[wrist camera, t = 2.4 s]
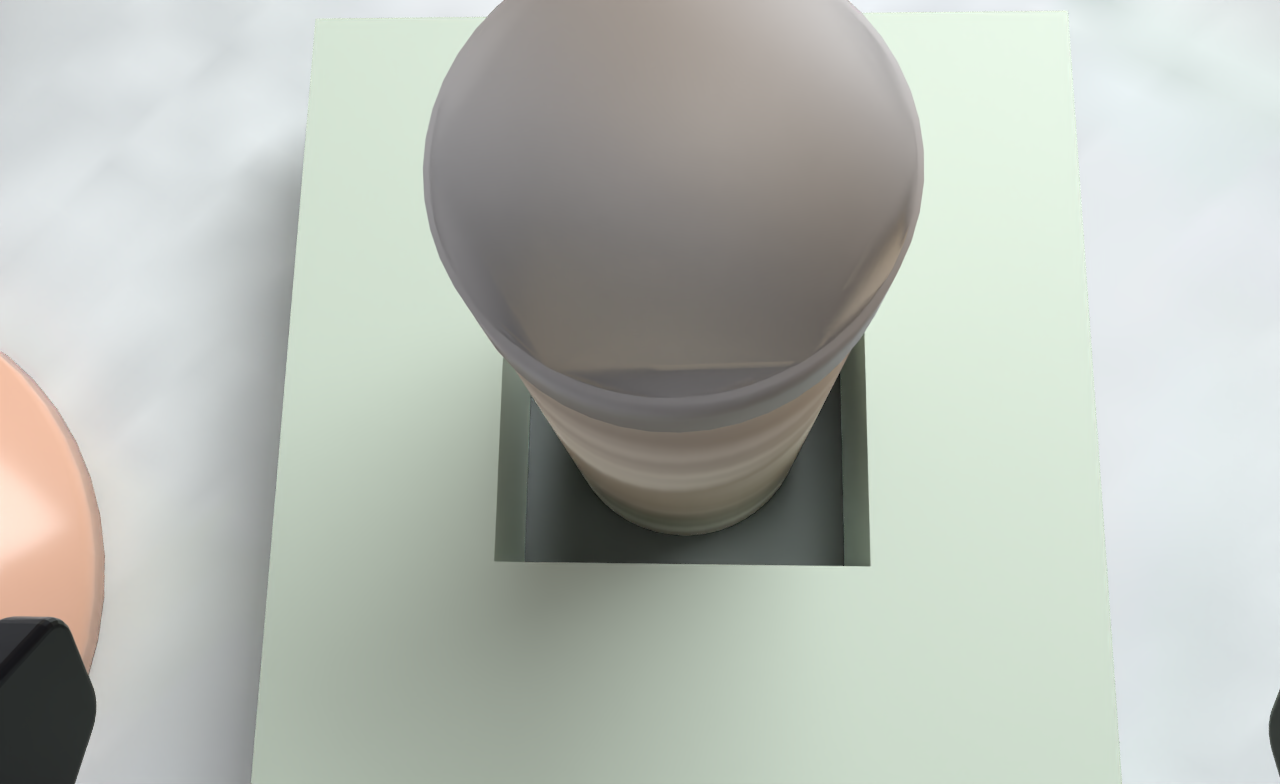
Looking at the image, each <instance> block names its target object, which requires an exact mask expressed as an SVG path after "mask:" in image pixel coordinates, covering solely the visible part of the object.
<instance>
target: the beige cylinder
mask: <svg viewBox="0 0 1280 784" xmlns="http://www.w3.org/2000/svg"><path fill="white" fill-rule="evenodd" d="M423 185H424V201H425V206H426V211H427V217H428V222H429V227H430V231H431V234H432V237H433V240H434V243H435V246H436V249H437V252H438V255H439V258H440V260H441V262H442V264H443V266H444V268H445V270H446V272H447V274H448V276H449V278H450V280H451V282H452V284H453V286H454V287H455V289H456V290H457V292H458V293H459V295H460V296H461V298H462V299H463V301H464V302H465V304H466V305H467V307H468V308H469V310H470V311H471V313H472V314H473V316H474V317H475V319H476V320H477V322H478V323H479V325H480V326H481V328H482V329H483V331H484V332H485V334H486V335H487V337H488V338H489V340H490V341H491V342H492V344H493V345H494V347H495V348H496V350H497V351H498V352H499V353H500V354H501V355H502V356H503V357H504V358H505V360H506V361H507V362H508V363H509V364H510V365H511V366H512V367H513V368H514V369H515V371H516V372H517V374H518V375H519V377H520V378H521V380H522V382H523V383H524V385H525V386H526V388H527V389H528V391H529V392H530V394H531V396H532V397H533V399H534V400H535V402H536V403H537V405H538V406H539V408H540V410H541V411H542V413H543V414H544V416H545V417H546V419H547V420H548V422H549V424H550V425H551V427H552V428H553V430H554V431H555V433H556V434H557V436H558V438H559V439H560V441H561V442H562V444H563V445H564V447H565V448H566V450H567V452H568V453H569V455H570V456H571V458H572V459H573V461H574V462H575V464H576V466H577V467H578V469H579V470H580V472H581V473H582V475H583V476H584V478H585V480H586V481H587V482H588V484H589V485H590V487H591V488H592V490H593V491H594V492H595V494H596V495H597V496H598V497H599V498H600V499H601V500H602V501H603V502H604V503H605V504H606V505H607V506H608V507H609V508H610V509H612V510H613V511H614V512H615V513H617V514H618V515H620V516H621V517H623V518H624V519H626V520H628V521H629V522H631V523H634V524H636V525H638V526H640V527H642V528H645V529H648V530H651V531H655V532H658V533H664V534H670V535H684V536H690V535H701V534H707V533H711V532H716V531H719V530H722V529H725V528H727V527H730V526H733V525H735V524H737V523H739V522H740V521H742V520H744V519H746V518H748V517H749V516H750V515H752V514H753V513H755V512H756V511H757V510H759V509H760V508H761V507H762V506H763V505H764V504H765V503H766V502H767V501H769V500H770V498H771V497H772V496H773V495H774V494H775V492H776V491H777V490H778V489H779V487H780V486H781V484H782V483H783V481H784V479H785V478H786V476H787V475H788V473H789V471H790V469H791V467H792V465H793V463H794V461H795V459H796V457H797V455H798V453H799V451H800V449H801V447H802V445H803V443H804V441H805V439H806V437H807V435H808V433H809V431H810V429H811V428H812V426H813V424H814V422H815V420H816V418H817V416H818V414H819V412H820V410H821V408H822V406H823V404H824V402H825V400H826V398H827V396H828V394H829V392H830V390H831V388H832V386H833V384H834V382H835V380H836V379H837V377H838V375H839V373H840V371H841V369H842V367H843V365H844V363H845V361H846V359H847V357H848V355H849V353H850V351H851V350H852V348H853V347H854V346H855V345H856V344H857V342H858V341H859V340H860V339H861V337H862V335H863V334H864V332H865V331H866V329H867V327H868V326H869V324H870V323H871V321H872V319H873V318H874V316H875V315H876V313H877V311H878V309H879V307H880V305H881V303H882V301H883V299H884V298H885V296H886V294H887V292H888V290H889V288H890V286H891V284H892V282H893V281H894V279H895V277H896V275H897V273H898V271H899V269H900V267H901V264H902V262H903V260H904V257H905V255H906V253H907V251H908V248H909V246H910V244H911V241H912V238H913V234H914V231H915V227H916V224H917V220H918V217H919V213H920V207H921V200H922V193H923V185H924V147H923V141H922V134H921V127H920V120H919V117H918V113H917V110H916V106H915V103H914V100H913V96H912V93H911V90H910V88H909V85H908V83H907V81H906V79H905V77H904V74H903V72H902V70H901V68H900V66H899V63H898V62H897V60H896V58H895V57H894V55H893V54H892V52H891V50H890V49H889V47H888V46H887V44H886V42H885V41H884V39H883V38H882V36H881V35H880V34H879V33H878V31H877V30H876V29H875V28H874V27H873V25H872V24H871V23H870V22H869V21H868V19H867V18H866V17H865V16H864V15H863V14H862V12H860V11H859V10H858V9H857V8H856V7H855V6H854V5H853V4H852V3H851V2H850V1H849V0H504V1H503V2H502V3H500V4H499V5H498V6H497V7H496V8H495V9H494V10H493V11H492V12H491V13H490V14H489V15H488V16H487V17H486V18H485V20H484V21H483V22H482V23H481V24H480V25H479V26H478V27H477V28H476V29H475V31H474V32H473V33H472V35H471V36H470V37H469V39H468V40H467V42H466V43H465V44H464V46H463V47H462V49H461V50H460V51H459V53H458V54H457V56H456V58H455V60H454V62H453V63H452V65H451V67H450V69H449V71H448V73H447V75H446V76H445V78H444V80H443V82H442V85H441V88H440V90H439V93H438V96H437V98H436V101H435V103H434V106H433V109H432V113H431V117H430V121H429V126H428V130H427V134H426V139H425V150H424V160H423Z"/></svg>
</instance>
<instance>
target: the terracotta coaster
mask: <svg viewBox="0 0 1280 784" xmlns="http://www.w3.org/2000/svg"><path fill="white" fill-rule="evenodd" d="M104 561H105V555H104V546H103V537H102V528H101V519H100V513H99V509H98V505H97V501H96V497H95V493H94V489H93V485H92V481H91V477H90V475H89V472H88V470H87V467H86V465H85V462H84V460H83V457H82V455H81V452H80V450H79V447H78V445H77V443H76V440H75V439H74V437H73V435H72V434H71V432H70V430H69V428H68V427H67V425H66V423H65V422H64V420H63V418H62V416H61V415H60V413H59V411H58V410H57V408H56V407H55V406H54V404H53V403H52V402H51V401H50V399H49V398H48V397H47V396H46V394H45V393H44V392H43V391H42V389H41V388H40V387H39V386H38V384H37V383H36V382H35V381H34V380H33V379H32V378H31V377H30V376H29V375H28V374H27V373H26V372H25V371H24V370H23V369H21V368H20V367H19V366H18V365H17V364H16V363H15V362H14V361H13V360H12V359H11V358H10V357H8V356H7V355H6V354H4V353H3V352H2V351H0V620H1V619H3V618H7V617H12V616H32V617H55V618H58V619H61V620H62V621H63V622H64V623H65V624H67V625H68V627H69V629H70V631H71V633H72V635H73V638H74V640H75V643H76V645H77V648H78V650H79V653H80V655H81V658H82V661H83V663H84V666H85V668H86V671H87V673H88V674H89V670H90V667H91V663H92V659H93V656H94V652H95V648H96V645H97V641H98V635H99V628H100V621H101V614H102V607H103V600H104Z"/></svg>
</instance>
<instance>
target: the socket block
mask: <svg viewBox="0 0 1280 784" xmlns="http://www.w3.org/2000/svg"><path fill="white" fill-rule="evenodd" d="M862 14H863V15H864V16H865V17H866V18H867V19H868V21H869V22H870V23H871V24H872V25H873V27H874V28H875V29H876V30H877V31H878V33H879V34H880V35H881V36H882V38H883V39H884V41H885V42H886V44H887V46H888V47H889V49H890V50H891V52H892V54H893V55H894V57H895V58H896V60H897V62H898V63H899V66H900V68H901V70H902V72H903V74H904V77H905V79H906V81H907V83H908V85H909V88H910V90H911V93H912V96H913V100H914V103H915V106H916V110H917V113H918V117H919V120H920V127H921V134H922V141H923V147H924V185H923V193H922V200H921V207H920V213H919V217H918V220H917V224H916V227H915V231H914V234H913V238H912V241H911V244H910V246H909V248H908V251H907V253H906V255H905V257H904V260H903V262H902V264H901V267H900V269H899V271H898V273H897V275H896V277H895V279H894V281H893V282H892V284H891V286H890V288H889V290H888V292H887V294H886V296H885V298H884V299H883V301H882V303H881V305H880V307H879V309H878V311H877V313H876V315H875V316H874V318H873V319H872V321H871V323H870V324H869V326H868V327H867V329H866V331H865V332H864V334H863V335H862V337H861V339H860V340H859V341H858V342H857V344H856V345H855V346H854V347H853V348H852V350H851V351H850V353H849V355H848V357H847V359H846V361H845V363H844V365H843V367H842V369H841V371H840V382H841V429H842V475H843V521H844V566H797V565H720V564H643V563H565V562H525V538H526V511H527V484H528V458H529V431H530V405H531V394H530V392H529V391H528V389H527V388H526V386H525V385H524V383H523V382H522V380H521V378H520V377H519V375H518V374H517V372H516V371H515V369H514V368H513V367H512V366H511V365H510V364H509V363H508V362H507V361H506V360H505V358H504V357H503V356H502V355H501V354H500V353H499V352H498V351H497V350H496V348H495V347H494V345H493V344H492V342H491V341H490V340H489V338H488V337H487V335H486V334H485V332H484V331H483V329H482V328H481V326H480V325H479V323H478V322H477V320H476V319H475V317H474V316H473V314H472V313H471V311H470V310H469V308H468V307H467V305H466V304H465V302H464V301H463V299H462V298H461V296H460V295H459V293H458V292H457V290H456V289H455V287H454V286H453V284H452V282H451V280H450V278H449V276H448V274H447V272H446V270H445V268H444V266H443V264H442V262H441V260H440V258H439V255H438V252H437V249H436V246H435V243H434V240H433V237H432V234H431V231H430V227H429V222H428V217H427V211H426V206H425V201H424V185H423V160H424V150H425V139H426V134H427V130H428V126H429V121H430V117H431V113H432V109H433V106H434V103H435V101H436V98H437V96H438V93H439V90H440V88H441V85H442V82H443V80H444V78H445V76H446V75H447V73H448V71H449V69H450V67H451V65H452V63H453V62H454V60H455V58H456V56H457V54H458V53H459V51H460V50H461V49H462V47H463V46H464V44H465V43H466V42H467V40H468V39H469V37H470V36H471V35H472V33H473V32H474V31H475V29H476V28H477V27H478V26H479V25H480V24H481V23H482V22H483V21H484V20H485V18H486V17H428V18H334V19H316V20H315V31H314V43H313V55H312V67H311V79H310V90H309V102H308V114H307V126H306V138H305V149H304V161H303V173H302V185H301V197H300V208H299V220H298V232H297V244H296V256H295V267H294V279H293V291H292V303H291V315H290V326H289V338H288V350H287V362H286V374H285V385H284V397H283V409H282V421H281V433H280V444H279V456H278V468H277V480H276V492H275V503H274V515H273V527H272V539H271V551H270V562H269V574H268V586H267V598H266V610H265V621H264V633H263V645H262V657H261V669H260V680H259V692H258V704H257V716H256V728H255V739H254V751H253V763H252V775H251V784H1122V777H1121V762H1120V748H1119V734H1118V719H1117V705H1116V691H1115V677H1114V662H1113V648H1112V634H1111V619H1110V605H1109V591H1108V577H1107V562H1106V548H1105V534H1104V519H1103V505H1102V491H1101V477H1100V462H1099V448H1098V434H1097V419H1096V405H1095V391H1094V377H1093V362H1092V348H1091V334H1090V319H1089V305H1088V291H1087V277H1086V262H1085V248H1084V234H1083V219H1082V205H1081V191H1080V177H1079V162H1078V148H1077V134H1076V119H1075V105H1074V91H1073V77H1072V62H1071V48H1070V34H1069V19H1068V11H989V12H896V13H862Z"/></svg>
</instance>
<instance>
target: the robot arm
mask: <svg viewBox="0 0 1280 784" xmlns="http://www.w3.org/2000/svg"><path fill="white" fill-rule="evenodd" d="M95 716H96V697H95V692H94V688H93V686H92V683H91V681H90V678H89V676H88V673H87V671H86V668H85V666H84V663H83V661H82V658H81V655H80V653H79V650H78V648H77V645H76V643H75V640H74V638H73V635H72V633H71V631H70V629H69V627H68V625H67V624H65V623H64V622H63V621H62V620H61V619H58V618H55V617H32V616H12V617H7V618H3V619H1V620H0V784H75V782H76V779H77V775H78V772H79V769H80V766H81V763H82V760H83V757H84V754H85V751H86V748H87V745H88V742H89V739H90V736H91V733H92V730H93V726H94V722H95ZM1269 737H1270V744H1271V748H1272V752H1273V756H1274V759H1275V762H1276V766H1277V769H1278V772H1279V776H1280V690H1279V693H1278V695H1277V698H1276V700H1275V703H1274V706H1273V708H1272V711H1271V715H1270V721H1269Z"/></svg>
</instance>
